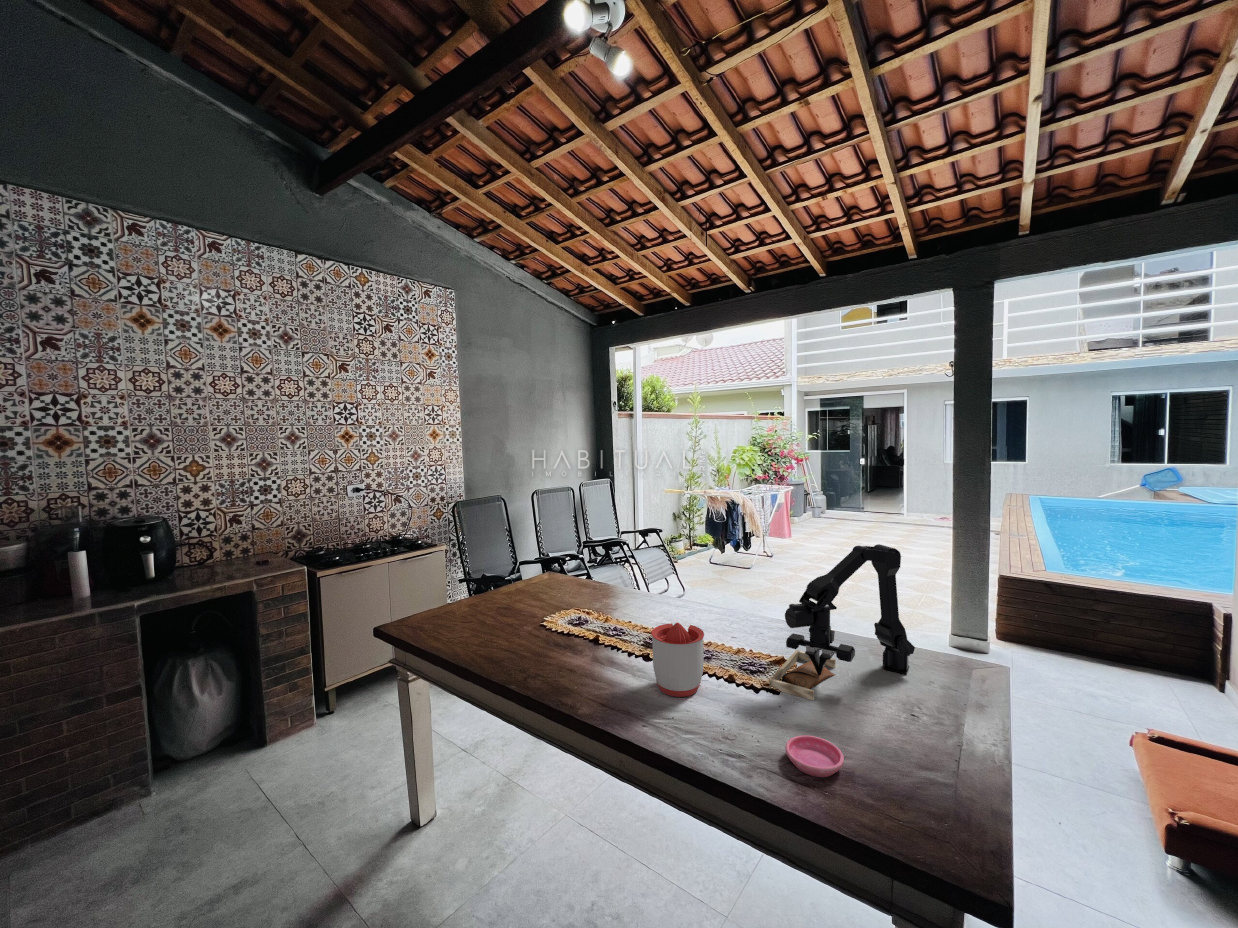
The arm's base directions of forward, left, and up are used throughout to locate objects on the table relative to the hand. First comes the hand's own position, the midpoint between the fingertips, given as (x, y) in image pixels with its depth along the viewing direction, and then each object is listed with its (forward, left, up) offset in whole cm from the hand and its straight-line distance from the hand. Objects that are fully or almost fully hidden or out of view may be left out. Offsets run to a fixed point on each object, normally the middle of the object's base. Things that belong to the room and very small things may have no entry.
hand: (819, 674), depth 153 cm
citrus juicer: (+33, +27, -2) cm, 43 cm away
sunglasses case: (+3, 0, -3) cm, 4 cm away
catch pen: (+4, 0, -2) cm, 5 cm away
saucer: (-10, +40, -3) cm, 41 cm away
